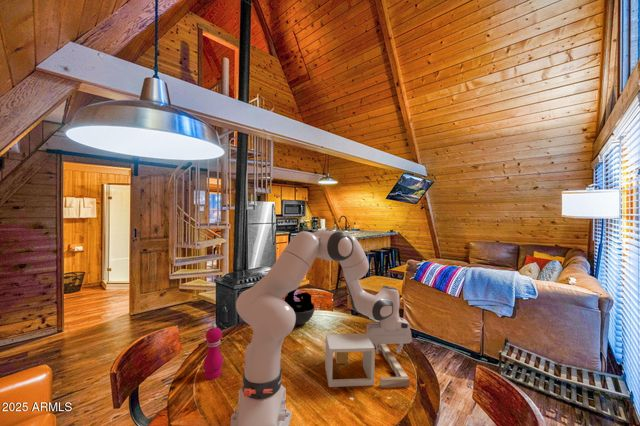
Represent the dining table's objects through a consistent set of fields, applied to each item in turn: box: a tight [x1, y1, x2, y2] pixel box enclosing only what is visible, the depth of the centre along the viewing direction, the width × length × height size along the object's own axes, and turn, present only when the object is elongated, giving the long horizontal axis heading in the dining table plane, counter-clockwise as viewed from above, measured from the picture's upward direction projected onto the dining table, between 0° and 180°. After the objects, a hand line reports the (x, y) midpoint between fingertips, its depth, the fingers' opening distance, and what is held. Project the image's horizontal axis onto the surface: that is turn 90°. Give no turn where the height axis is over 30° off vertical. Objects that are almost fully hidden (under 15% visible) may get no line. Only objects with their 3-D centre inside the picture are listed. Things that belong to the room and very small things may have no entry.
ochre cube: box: [334, 352, 349, 365], centre depth 118 cm, size 5×5×5 cm
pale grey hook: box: [377, 344, 411, 389], centre depth 118 cm, size 35×12×3 cm, turn 5°
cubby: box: [324, 332, 376, 388], centre depth 107 cm, size 12×17×14 cm
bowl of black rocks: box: [284, 289, 315, 326], centre depth 157 cm, size 20×20×19 cm
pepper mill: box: [203, 324, 224, 380], centre depth 106 cm, size 7×7×20 cm
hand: (388, 352), depth 121 cm, fingers open, 8 cm apart
